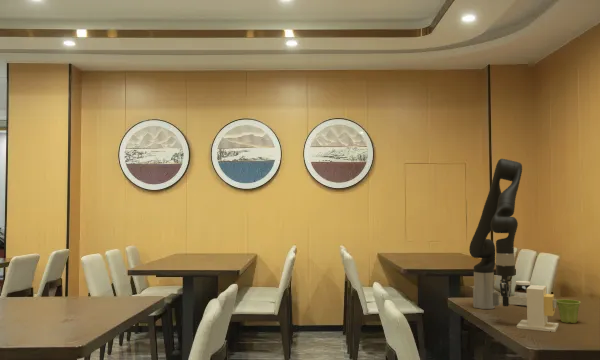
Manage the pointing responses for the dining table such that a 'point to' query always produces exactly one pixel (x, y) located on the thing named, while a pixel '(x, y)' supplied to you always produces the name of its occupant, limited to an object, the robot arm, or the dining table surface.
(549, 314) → the block
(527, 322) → the bracket
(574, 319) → the plant pot
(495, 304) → the shaft
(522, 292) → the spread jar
